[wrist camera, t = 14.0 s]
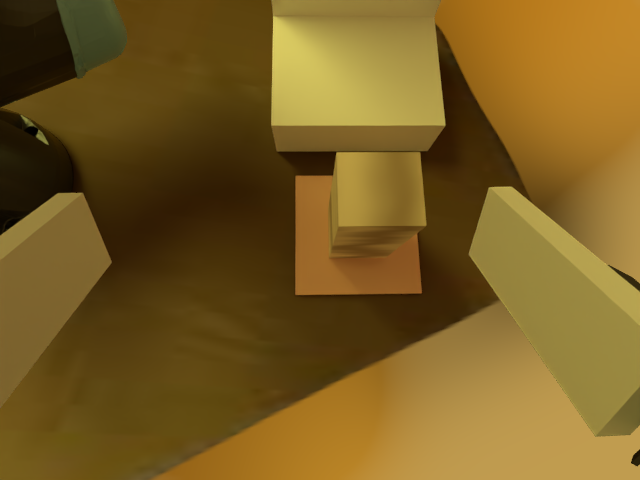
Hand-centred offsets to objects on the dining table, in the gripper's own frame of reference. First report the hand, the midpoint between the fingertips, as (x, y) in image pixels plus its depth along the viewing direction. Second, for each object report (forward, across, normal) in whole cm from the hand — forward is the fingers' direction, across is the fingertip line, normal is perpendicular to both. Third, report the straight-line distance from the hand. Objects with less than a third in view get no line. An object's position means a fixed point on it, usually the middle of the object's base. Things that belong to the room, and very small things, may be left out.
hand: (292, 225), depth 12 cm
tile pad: (+18, +5, -12) cm, 23 cm away
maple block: (+18, +5, -12) cm, 22 cm away
